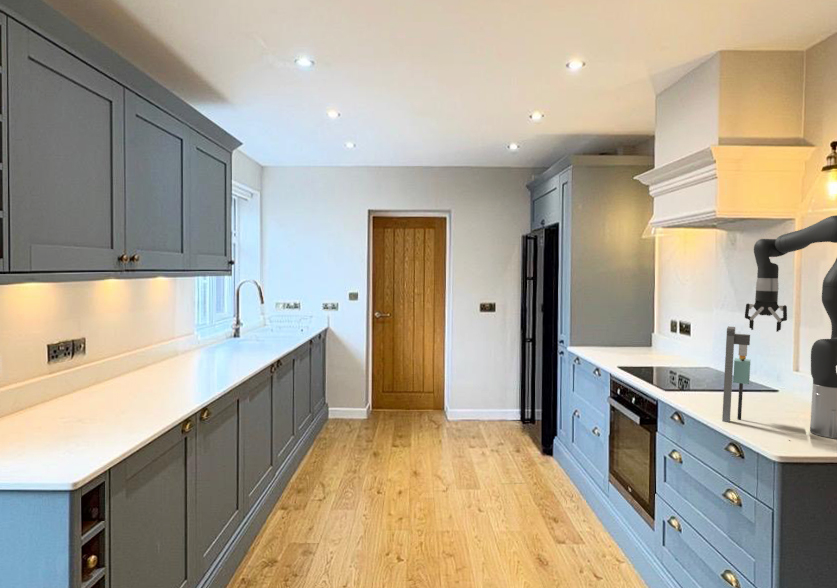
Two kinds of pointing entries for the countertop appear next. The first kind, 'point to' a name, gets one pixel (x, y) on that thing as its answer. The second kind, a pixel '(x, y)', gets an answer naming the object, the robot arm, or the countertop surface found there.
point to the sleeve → (741, 371)
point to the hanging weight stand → (730, 341)
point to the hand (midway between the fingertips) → (764, 330)
